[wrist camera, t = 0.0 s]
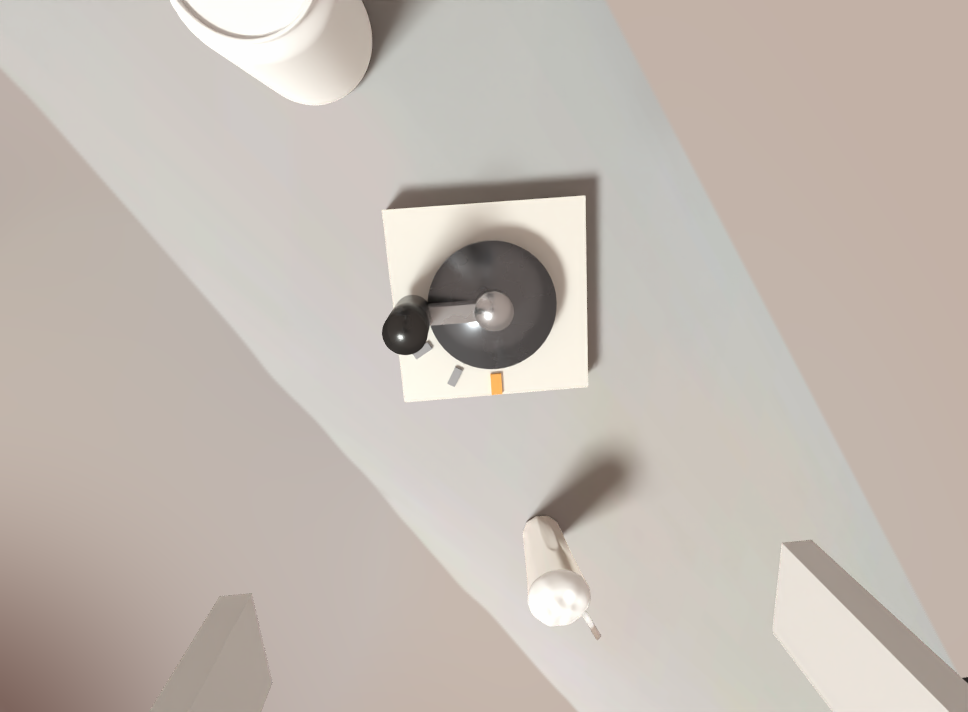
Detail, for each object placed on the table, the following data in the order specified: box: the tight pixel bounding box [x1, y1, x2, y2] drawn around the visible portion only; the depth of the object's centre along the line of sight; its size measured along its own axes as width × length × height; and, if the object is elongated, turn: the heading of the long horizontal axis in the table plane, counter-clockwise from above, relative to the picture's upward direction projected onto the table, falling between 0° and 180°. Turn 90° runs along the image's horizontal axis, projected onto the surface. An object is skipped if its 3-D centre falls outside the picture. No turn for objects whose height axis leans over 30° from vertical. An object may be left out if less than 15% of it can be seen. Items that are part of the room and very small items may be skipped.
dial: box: [382, 240, 557, 369], centre depth 33 cm, size 11×9×7 cm
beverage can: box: [170, 0, 372, 105], centre depth 28 cm, size 8×8×12 cm
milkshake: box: [523, 516, 601, 640], centre depth 40 cm, size 4×5×10 cm
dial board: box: [382, 195, 588, 402], centre depth 38 cm, size 14×14×2 cm
